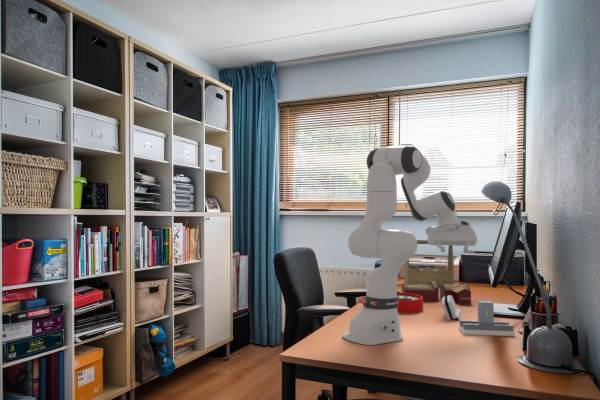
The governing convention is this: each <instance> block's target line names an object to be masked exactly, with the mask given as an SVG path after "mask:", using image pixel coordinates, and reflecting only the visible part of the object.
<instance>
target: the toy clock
mask: <svg viewBox="0 0 600 400" xmlns="http://www.w3.org/2000/svg"><path fill="white" fill-rule="evenodd" d="M397 297H398V307H397V311H398V314H399V313H402V314H411V313H415V314H416V313H419V312H420V313H421V312H422V311H424V301H423V297H422V296H420V295H416V294H409V293H402V292H401V293H397Z"/></svg>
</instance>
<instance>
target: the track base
mask: <svg viewBox="0 0 600 400" xmlns="http://www.w3.org/2000/svg"><path fill="white" fill-rule="evenodd" d="M458 322H459V324H458V329H459V331H460V332H461V333H462V334H464V335H472V336H473V335H478V336H501V337H503V336H504V337H506V336H507V337H515V335H516V334H515V333H516V332H515V331H514V330H515V329H514V325H512V324H510V322H508V321H494V324H478V320H465V319H464V320H462V319H460V320H458Z"/></svg>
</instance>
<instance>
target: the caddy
mask: <svg viewBox="0 0 600 400" xmlns="http://www.w3.org/2000/svg"><path fill="white" fill-rule="evenodd" d="M416 240H417V245H429V244H428V239H416ZM453 246H454V245H448V251H447V268H424V267H423V268H418V267H417V268H416V267H415V268H414V267H413V268H412V267H410V259H409V260H407V261H406V262H405V263H404V277H403V278H404V279H403V280H404V281H403V282H404V283H403V284H404V285H405V286H406V287H408V285H409V284H410V285H411V284H412V285H411V286H412V287H414V286H415V285H416V284H417V285H418V284H422V285H425V284H426V285H427V284H428V283H429V282H430V281H434V282H435V281H436V282H437V284H438V286H439V287H440V286H441V285H442V284H443V285H444V284H445V285H446V284H447V285H446V286H445V285H444V287H447V286H448V284H449V286H450V285H451V284H452V285H453V284H454V285H455V276H454V275H455V271H454V270H455V268H454V248H453ZM434 282H433V283H434ZM407 284H408V285H407ZM413 285H414V286H413ZM426 285H425V286H426ZM452 285H451V286H452ZM411 286H410V287H411ZM449 286H448V287H449ZM451 286H450V287H451ZM452 287H453V286H452Z"/></svg>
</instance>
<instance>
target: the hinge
mask: <svg viewBox="0 0 600 400" xmlns="http://www.w3.org/2000/svg"><path fill="white" fill-rule="evenodd" d="M441 304H442V307H443V311H444V313H445V317H446V319H447V320H448V321H450V320H452V319H458V321H459V320H462V319H461V317H462V310H461V309H460V308H458V307H457V303H455V302H454V299H453V297H452V296H451V295H448V296H447V297H446V296H445V297H443V298H442V299H441Z"/></svg>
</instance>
